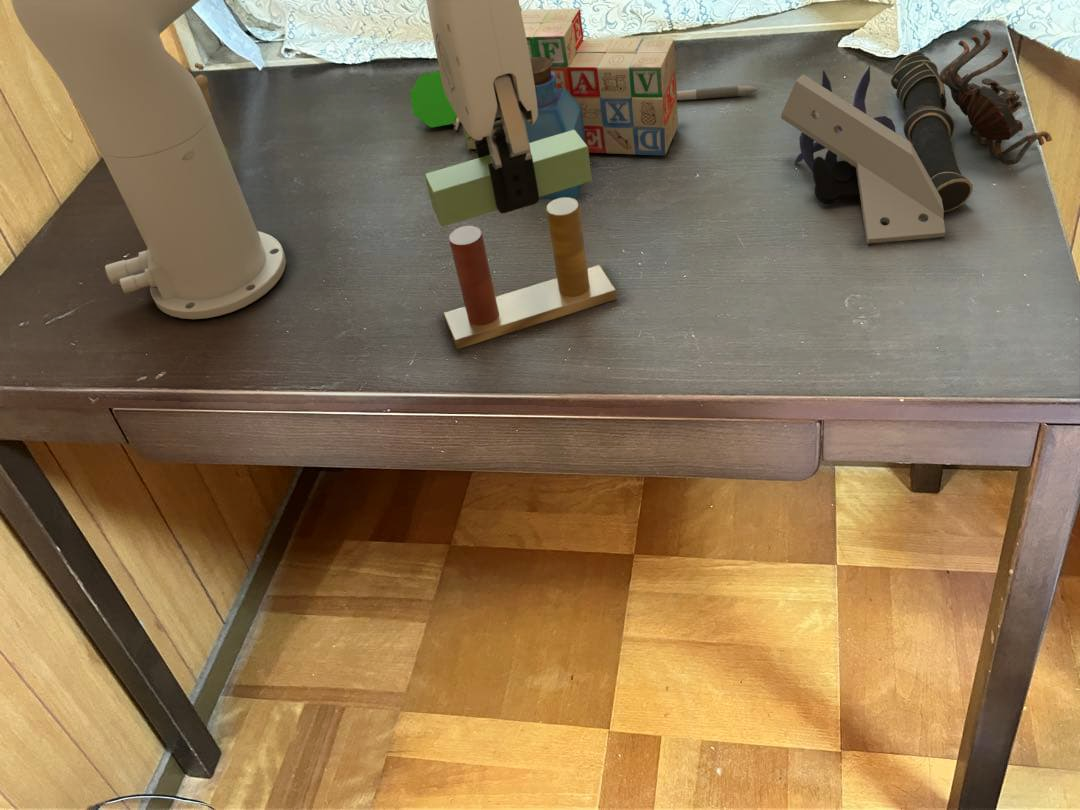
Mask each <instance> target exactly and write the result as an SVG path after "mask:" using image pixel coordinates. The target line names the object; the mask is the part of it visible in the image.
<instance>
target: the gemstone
mask: <svg viewBox="0 0 1080 810" xmlns="http://www.w3.org/2000/svg"><path fill="white" fill-rule="evenodd" d="M409 96H410V97H409V98H410V102H411V107H412V108H411V109H412V113H413V115H414V116H415V117H416V118H418V120H420V121H421V122H423V123H424V124H425V125H427V126H428V127H429V128H437V127H443V126H448V125H453V124H452V123H453V121H454V120H455V118H456V117H457V115H456V113H455V111H454V110H453V108H452V106H451V104H450V103H449V101H448V99H447V97H446V95H445V92H444V89H443V86H442V81H441V76H440V71H439V70H438V71H434V72H433V71H432V72H428V73H422V74H420V75H419V77H418V79H417V81H416V82H415V83H414V85H413V87H412V89H411V90H410V91H409Z"/></svg>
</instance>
